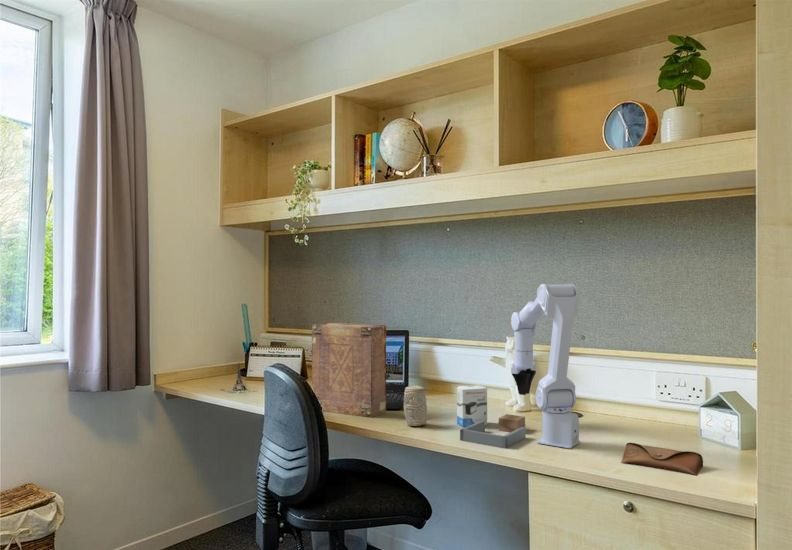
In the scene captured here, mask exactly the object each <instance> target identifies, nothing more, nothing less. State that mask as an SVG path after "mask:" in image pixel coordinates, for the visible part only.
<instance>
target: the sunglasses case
mask: <svg viewBox="0 0 792 550" xmlns="http://www.w3.org/2000/svg"><path fill="white" fill-rule="evenodd" d="M620 464H624V465H632V466H639V467H643V468H644V467H646V468H650V469H651V468H653V469H657V470H658V469H659V470H664V471H670V472H675V473H681V474H686V475H691V476H698V475H699V472H700V471H701V469H702V468H704V458H703V456H702V455H701V454H700V453H699V452H695V451H689V450H688V451H686V450H685V451H683V450H682V451H681V450H677V449H672V448H664V447H663V448H662V447H657V446H651V445H642V444H639V443H636V442H627V443H626V444H625V449H624V452H623V457H622V459H621V462H620Z"/></svg>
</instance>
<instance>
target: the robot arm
mask: <svg viewBox="0 0 792 550" xmlns="http://www.w3.org/2000/svg"><path fill="white" fill-rule="evenodd" d="M579 301H580V294H579V291H578V289H577V287H576V285H575V284H574V283H569V284H568V283H567V284H565V283H563V284H545V283H541V284H540V285H539V286H538V288H537V291H536V298H535V299H534V300H533V301H532V300H531V301H528V302H526V303H527V304H526V305H524V307H523V308H522V309H521V310H520V311H519V312H517V311H514V312H513V313H512V315H511V319H510V323H511V328H512V330H513V332H514V333H513V335H514V363H511V364H510V366H511V367H510V373H511V375H512V377H513V379H514V381H515V383H516V388H517V392H518V394H519V396H520V395H521V396H526V395H528V394H530V391H531V387H532V384H533V383H532V382H533V380H534V377H535V375H536V374H537V372H536V370H533V369H536V368H537V361H536V362H535V361H534V336H535V333H536V327H537V322H538V321H539V320H540V319H541V318H542V317H543V316H544V314H545V316H546V317H548V318H551V319H552V321H553V322H552V330H551V340H550V348H549V359H548V366H547V367H548V369H547V374H546V375H545V376H544V377H542V378H541V379H540V380H539V381H538V384H537V388H536V391H535V397H534V398H535V399H534V400H535V403H536V406H537V407H538V408H539V410H540V411H542V413H541V414H542V419H541V420H542V422H541V423H542V425H541V427H542V428H541V430H542V438H540V439H539V440H537V441H536V443H537V444H542V445H546V446H552V447H558V448H559V447H560V448H564V449H572V448H573V447H575V446H576V445H578V444H579V443H580V420H579V415H578V414H577V413H574V412H572V409H573V408H574V407H575V405H576V402H577V394H576V385H575V383H574V382H573V381H572V379H570V378H568V377H567V376H568V370H569V359H570V350H571V341H572V334H573V333H572V332H573V325H574V318H575V317H576V316H577V315H578V309H579Z"/></svg>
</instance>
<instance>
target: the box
mask: <svg viewBox="0 0 792 550" xmlns="http://www.w3.org/2000/svg"><path fill="white" fill-rule="evenodd" d="M485 428H486V425H485V421H480V422H477V423H475V424H472V425H470V426H467V427H462V428H460V429H459V441H463V442H468V443H469V442H470V443H474V444H479V445H486V446H489V447H490V446H491V447H497V448H503V449H507V448H509V447H511V446H513V445H515V444H517V443H518V442H520V441H522V440H524V439H525V438H526V426H525V427H521V428H519V429H517V430H514V431H512V432H507V434H505V435H501V434H496V433H491V432H490V433H489V432H486V429H485Z"/></svg>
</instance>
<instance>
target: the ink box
mask: <svg viewBox="0 0 792 550" xmlns="http://www.w3.org/2000/svg"><path fill="white" fill-rule="evenodd" d="M480 421H485V426H488V388H487V387H485V386H483V385H459V386H458V387H456V424H458V426H461V427H462V428H465V427H467V426H470V425H472V424H475V423H477V422H480Z"/></svg>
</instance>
